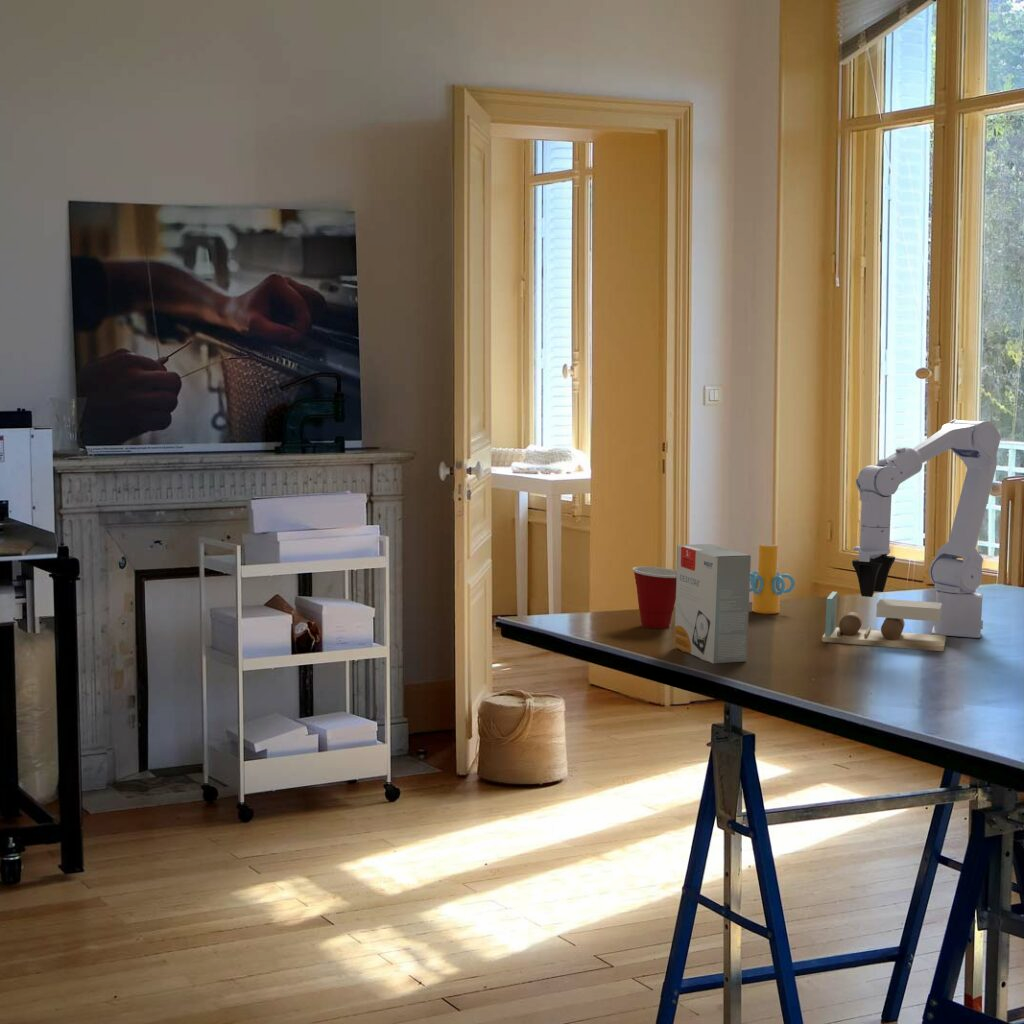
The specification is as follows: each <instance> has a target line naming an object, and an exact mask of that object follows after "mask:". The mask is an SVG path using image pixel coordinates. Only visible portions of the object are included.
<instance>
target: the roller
mask: <svg viewBox="0 0 1024 1024" xmlns="http://www.w3.org/2000/svg"><path fill="white" fill-rule="evenodd" d="M862 624H863V618H862V617H861V615H860V614H859V613H858V612H855V611H849V612H846V613H845V614H844V615H843V616H842V618H841V619H840V621H839V624H838V628H840V631H841V632H842V633H843V634H844V635H847V636H853V635H855V634H856V633H857V632H858V631H859V629H861V628H862Z"/></svg>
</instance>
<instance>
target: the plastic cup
mask: <svg viewBox="0 0 1024 1024" xmlns="http://www.w3.org/2000/svg"><path fill="white" fill-rule="evenodd" d="M632 572H633V573H634V574H633V575H634V579H635V586H636V592H637V603H638V611H639V615H640V624H641V626H642V627H643V628H646V629H657V628H664V629H668V628H670V625H671V622H672V617H673V612H674V610H675V604H676V575H677V569H676V570H675V569H670V568H665V567H656V566H634V567H632ZM667 627H668V628H667Z"/></svg>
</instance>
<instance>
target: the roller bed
mask: <svg viewBox="0 0 1024 1024" xmlns="http://www.w3.org/2000/svg"><path fill="white" fill-rule="evenodd" d="M825 607H826V608H825V628H824V629H825V631H824V634H823V635H822V638H821V641H822V643H823V642H824V643H835V644H848V645H858V646H859V645H860V646H861V645H862V646H872V647H873V646H875V647H885V648H886V647H887V648H899V649H910V650H911V649H912V650H913V649H914V650H920V651H921V650H924V651H935V652H936V651H937V652H944V650H945V645H946V639H947V636H946V635H933V634H926V633H915V632H912V633H911V632H904V628H905V625H906V624H905V619H898V618H884V619H883V623H882V624H881V627H880V630H875V629H872V628H871V627H867V629H865V628H864V629H863V628H860V629H859V631H858V632H857V633H856V634H855V635H853V636H847V635H844V634H843V633H842V632H841V631H840V628H839V626H837V609H838V608H837V607H838V591H831V593H830V594H829V595H828V596H827V598H826V605H825Z"/></svg>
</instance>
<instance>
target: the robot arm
mask: <svg viewBox="0 0 1024 1024" xmlns="http://www.w3.org/2000/svg"><path fill="white" fill-rule="evenodd" d="M1001 438H1002V436H1001V434H1000V432H999V430H998V429H997V426H996V425H995V424H994V423H993V422H992V421H990V420H981V421H980V420H966V419H965V420H962V419H959V418H958V419H957V418H955V419H952V420H951V421H948V422H947V423H945V424H943V425H941V428H940V429H939V430H938V431H936V432H935V433H934V434H931V436H930V437H927V439H925V440H924V441H922V442H921V443H919V444H918V445H916V446H915V447H913V448H911V447H908V446H906V447H904V446H903V447H901V446H900V447H897V448H896V449H895V452H894V453H893V454H890V455H889V456H888V457H886V458H881V459H879V460H878V463H877V464H876V465H866V466H864V467H863V468H862V469H861V470H860V471H859V473H858V477H857V478H855V485H856V488H857V489H858V492H859V499H860V501H861V509H860V511H861V512H860V530H859V531H860V532H859V546H858V545H857V546H854V547H853V551H855V552H856V551H857V552H858V559H852V561H851V564H852V567H853V569H854V571H855V573H856V577H857V580H858V584H859V585H858V586H859V591H860V595H861V597H867V598H872V597H874V593H875V592H877V593H883V592H884V591H885V587H886V583H887V580H888V576H889V573H890V570H891V568H892V565H893V564H894V562H895V561H896V556H894V555H890V553H891V548H890V539H891V536H890V535H891V517H892V516H891V515H892V497H893V496H892V495H895V494H896V492H897V491H898V489H899V487H900V485H901V484H903V482H905V481H907V480H909V479H910V478H911V477H914V476H915V475H917V474H919V473H920V472H921V471H922V467H923V463H926V462H927V461H930V460H931V459H933V458H935V457H937V456H939V455H941V454H942V453H944V452H946V451H949V450H951V452H953V453H954V454H955V456H957V457H958V458H959V460H961V461H963V464H964V465H965V468H966V472H965V475H964V479H963V483H962V488H961V492H960V495H959V500H958V503H957V507H956V511H955V515H954V518H953V523H952V527H951V529H950V530H951V531H950V535H949V538H948V540H947V542H946V543H944V544H942V546H940V547H939V548H938V549H937V552H936V555H935V557H934V559H933V560H932V561H931V563H930V565H929V568H928V576H929V579H930V581H931V583H932V584H933V585H934V586H933V589H936V591H935V592H936V593H935V602H936V603H942V615H941V619H940V622H938V621H934V626H932V630H931V635H942V636H946V637H947V636H948V637H961V638H974V639H980V638H981V630H983V627H984V620H982V617H983V616H982V612H983V598H984V597H983V595H984V594H983V593H982V592H976V590H978V588H979V587H980V585H981V583H982V582H983V581H982V580H983V569H982V568H983V562H984V557H983V556H982V555H981V553H980V552H979V551H978V550H977V543H978V542H979V541H978V540H979V536H980V532H981V529H982V525H983V521H984V517H985V513H986V510H987V505H988V502H989V497H990V494H991V490H992V486H993V482H994V478H995V474H996V471H997V465H998V461H997V460H998V457H997V456H998V455H997V453H998V451H999V445H1000V442H1001Z"/></svg>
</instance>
